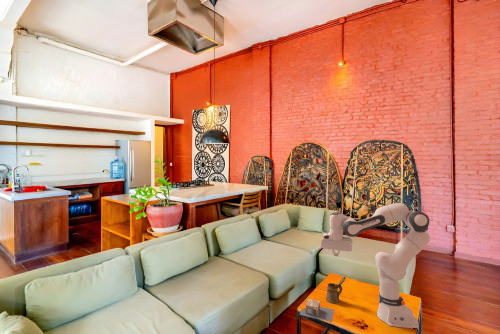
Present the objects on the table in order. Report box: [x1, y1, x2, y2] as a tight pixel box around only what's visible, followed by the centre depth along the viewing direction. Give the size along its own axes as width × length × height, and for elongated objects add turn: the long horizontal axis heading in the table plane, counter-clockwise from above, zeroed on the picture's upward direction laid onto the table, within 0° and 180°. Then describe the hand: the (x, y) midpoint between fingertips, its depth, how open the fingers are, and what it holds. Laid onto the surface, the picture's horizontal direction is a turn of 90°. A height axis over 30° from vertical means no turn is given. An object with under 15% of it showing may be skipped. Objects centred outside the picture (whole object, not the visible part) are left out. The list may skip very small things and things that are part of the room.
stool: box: [305, 298, 321, 316], centre depth 168 cm, size 6×8×8 cm
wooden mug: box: [325, 276, 346, 304], centre depth 180 cm, size 9×14×18 cm, turn 72°
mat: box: [299, 303, 335, 323], centre depth 167 cm, size 20×14×1 cm
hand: (336, 256), depth 175 cm, fingers closed
